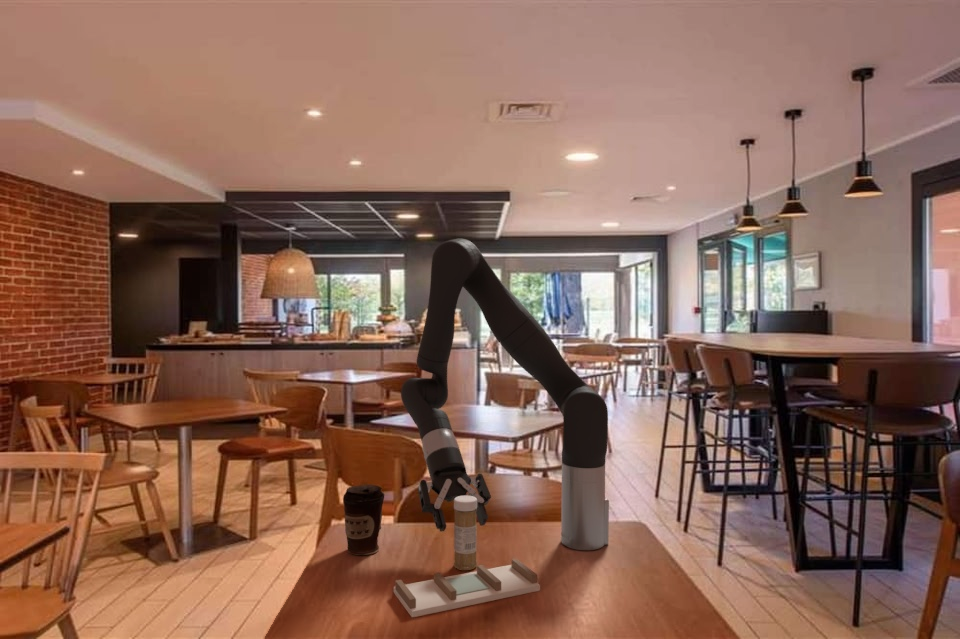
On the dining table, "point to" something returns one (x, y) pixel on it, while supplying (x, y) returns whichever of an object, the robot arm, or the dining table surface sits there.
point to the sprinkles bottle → (465, 532)
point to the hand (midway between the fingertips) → (463, 526)
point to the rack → (466, 588)
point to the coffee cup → (363, 518)
